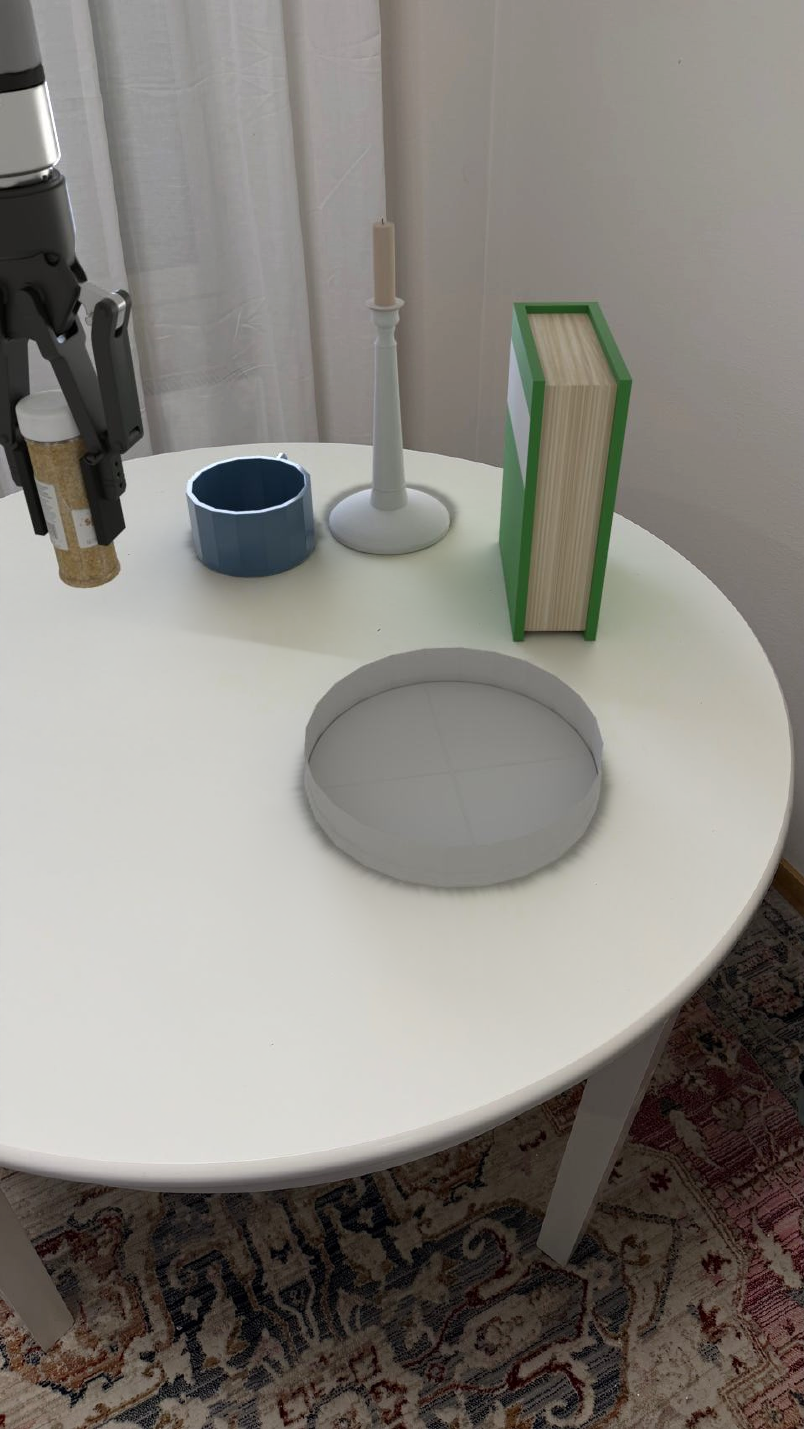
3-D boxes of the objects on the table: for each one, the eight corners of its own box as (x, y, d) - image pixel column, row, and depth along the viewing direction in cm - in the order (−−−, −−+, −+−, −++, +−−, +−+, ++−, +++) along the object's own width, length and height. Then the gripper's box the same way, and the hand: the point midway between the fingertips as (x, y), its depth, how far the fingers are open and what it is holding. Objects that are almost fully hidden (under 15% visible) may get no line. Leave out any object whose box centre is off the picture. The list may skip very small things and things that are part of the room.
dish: (551, 680, 86) (556, 632, 83) (641, 874, 70) (652, 824, 66) (292, 710, 83) (287, 662, 80) (322, 920, 67) (317, 870, 64)
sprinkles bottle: (121, 587, 74) (84, 411, 65) (57, 594, 73) (10, 417, 64) (121, 554, 77) (86, 384, 68) (60, 561, 76) (16, 389, 68)
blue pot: (290, 585, 98) (284, 521, 94) (176, 567, 101) (164, 504, 96) (340, 510, 109) (337, 450, 105) (236, 496, 112) (229, 437, 107)
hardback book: (595, 640, 91) (632, 380, 75) (513, 641, 91) (533, 381, 75) (570, 540, 104) (597, 301, 89) (498, 541, 104) (513, 302, 89)
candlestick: (412, 566, 100) (410, 247, 81) (305, 535, 105) (280, 227, 86) (470, 511, 109) (481, 210, 89) (369, 484, 114) (359, 194, 94)
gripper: (164, 167, 58) (213, 522, 73) (-93, 148, 62) (4, 491, 77) (99, 199, 53) (167, 576, 68) (-178, 176, 57) (-55, 539, 72)
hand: (80, 530), depth 73 cm, fingers closed on sprinkles bottle, 4 cm apart
